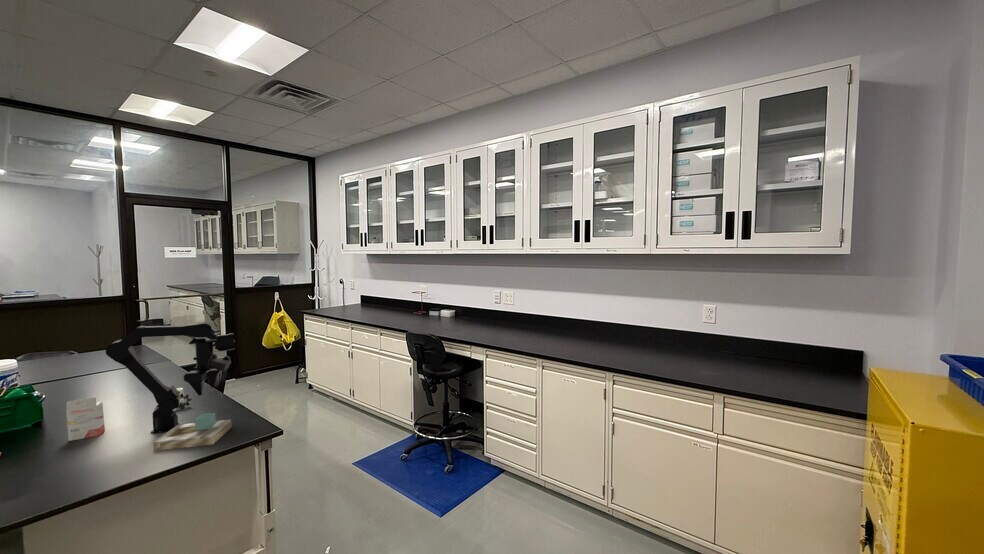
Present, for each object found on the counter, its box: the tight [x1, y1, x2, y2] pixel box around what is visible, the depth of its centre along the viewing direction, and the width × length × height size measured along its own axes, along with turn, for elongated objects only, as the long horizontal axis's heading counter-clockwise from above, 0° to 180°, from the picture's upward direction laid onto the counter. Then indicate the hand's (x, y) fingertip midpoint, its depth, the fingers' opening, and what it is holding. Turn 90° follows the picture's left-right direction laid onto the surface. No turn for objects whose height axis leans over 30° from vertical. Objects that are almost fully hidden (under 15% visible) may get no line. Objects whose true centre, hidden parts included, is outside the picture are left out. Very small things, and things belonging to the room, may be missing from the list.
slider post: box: [194, 412, 217, 431], centre depth 139 cm, size 6×6×7 cm
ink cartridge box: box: [65, 397, 106, 442], centre depth 142 cm, size 9×5×15 cm, turn 117°
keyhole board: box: [152, 419, 232, 451], centre depth 138 cm, size 18×14×3 cm
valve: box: [175, 387, 192, 409], centre depth 171 cm, size 7×7×12 cm
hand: (206, 391), depth 154 cm, fingers open, 9 cm apart
